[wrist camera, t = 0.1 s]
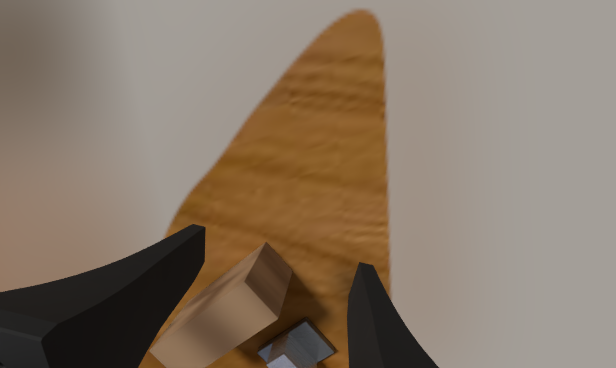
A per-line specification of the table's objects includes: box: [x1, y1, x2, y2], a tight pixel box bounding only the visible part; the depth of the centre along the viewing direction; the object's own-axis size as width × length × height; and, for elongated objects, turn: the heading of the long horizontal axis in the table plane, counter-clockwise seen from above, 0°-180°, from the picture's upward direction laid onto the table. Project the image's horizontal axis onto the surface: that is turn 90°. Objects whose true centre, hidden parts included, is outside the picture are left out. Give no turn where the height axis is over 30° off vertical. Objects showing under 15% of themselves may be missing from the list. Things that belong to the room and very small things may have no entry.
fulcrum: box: [257, 317, 334, 368], centre depth 26 cm, size 6×4×3 cm, turn 130°
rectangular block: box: [150, 242, 293, 368], centre depth 24 cm, size 10×4×6 cm, turn 130°
